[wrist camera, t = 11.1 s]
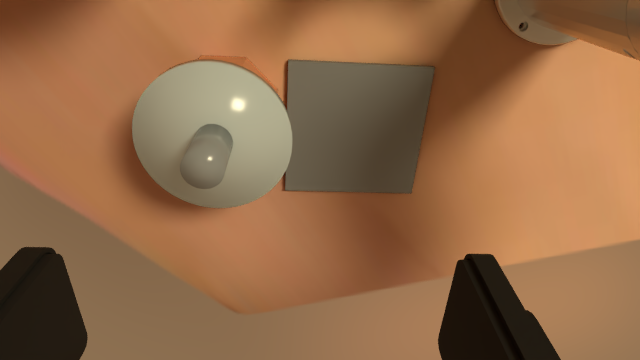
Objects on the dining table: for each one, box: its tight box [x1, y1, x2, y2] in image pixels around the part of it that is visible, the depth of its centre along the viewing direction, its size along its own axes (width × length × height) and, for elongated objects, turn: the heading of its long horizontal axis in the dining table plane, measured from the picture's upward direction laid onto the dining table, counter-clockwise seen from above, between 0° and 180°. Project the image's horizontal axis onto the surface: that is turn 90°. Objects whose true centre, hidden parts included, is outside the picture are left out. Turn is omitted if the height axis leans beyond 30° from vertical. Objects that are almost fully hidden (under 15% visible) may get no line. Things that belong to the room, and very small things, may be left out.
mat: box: [285, 59, 435, 193], centre depth 45 cm, size 14×14×1 cm
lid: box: [132, 59, 292, 208], centre depth 34 cm, size 13×13×6 cm
